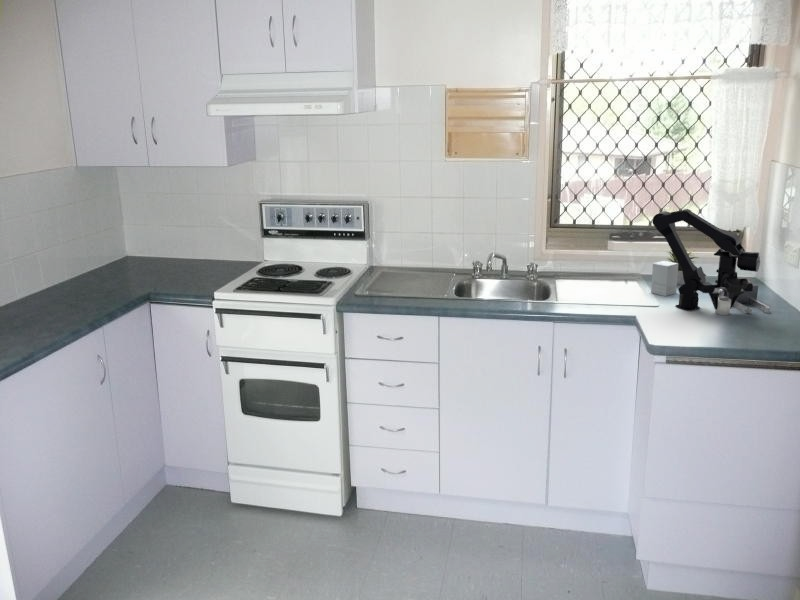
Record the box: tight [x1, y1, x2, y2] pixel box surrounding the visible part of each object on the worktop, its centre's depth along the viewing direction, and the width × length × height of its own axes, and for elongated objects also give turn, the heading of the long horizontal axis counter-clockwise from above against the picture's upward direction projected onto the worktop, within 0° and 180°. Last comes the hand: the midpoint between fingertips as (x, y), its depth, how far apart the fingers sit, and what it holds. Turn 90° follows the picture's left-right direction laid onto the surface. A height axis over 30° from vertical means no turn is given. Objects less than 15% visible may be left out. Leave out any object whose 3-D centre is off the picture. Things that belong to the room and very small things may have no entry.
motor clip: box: [718, 280, 771, 315], centre depth 271 cm, size 14×18×8 cm
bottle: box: [714, 296, 731, 316], centre depth 264 cm, size 5×5×6 cm
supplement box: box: [650, 260, 678, 297], centre depth 291 cm, size 7×7×13 cm
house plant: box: [666, 247, 700, 286], centre depth 303 cm, size 14×14×16 cm
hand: (722, 309), depth 265 cm, fingers closed on bottle, 5 cm apart
